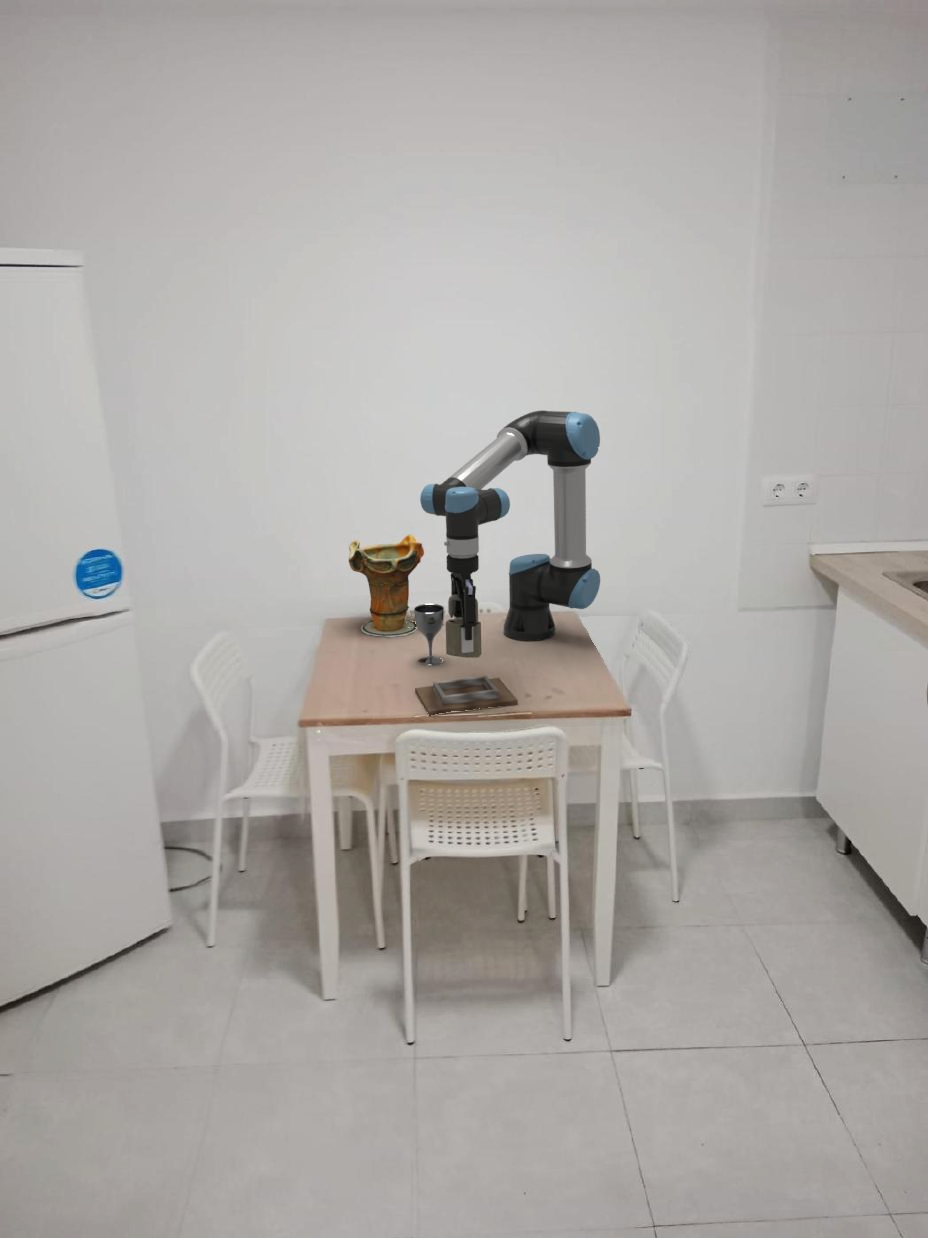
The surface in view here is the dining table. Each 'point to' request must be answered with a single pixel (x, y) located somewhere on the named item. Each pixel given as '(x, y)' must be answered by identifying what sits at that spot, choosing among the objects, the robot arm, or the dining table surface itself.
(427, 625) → the wine glass
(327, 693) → the dining table surface
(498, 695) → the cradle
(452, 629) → the padlock
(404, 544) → the decorative vase
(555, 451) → the robot arm
